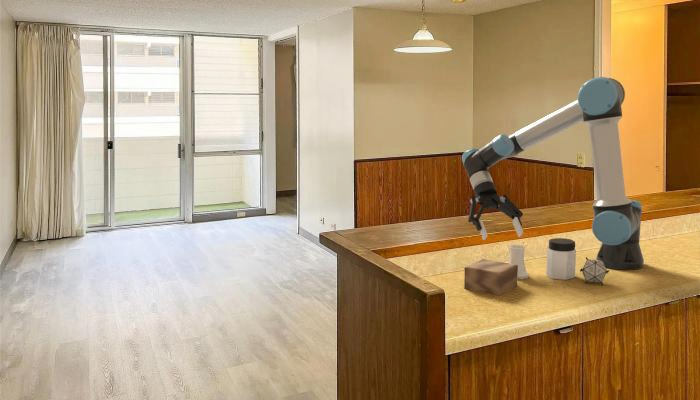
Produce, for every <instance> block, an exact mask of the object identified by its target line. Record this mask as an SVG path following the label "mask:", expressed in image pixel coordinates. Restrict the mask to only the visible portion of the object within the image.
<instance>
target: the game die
mask: <svg viewBox="0 0 700 400" xmlns="http://www.w3.org/2000/svg"><path fill="white" fill-rule="evenodd" d="M585 259H586V261H585V263H584V265H583V267H582V268H580V269H579V272H582V274H583V277H584V279H585V282H584V284H587V283H600V284H601V285H602V286H604V283H603V281H604V279H605V277H606V275H607V274H609V272H610V270H607V267H605V265H604V263H603V260H604V258H603V259H602V260H596V259H589V258H588V257H587V256H585Z"/></svg>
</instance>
